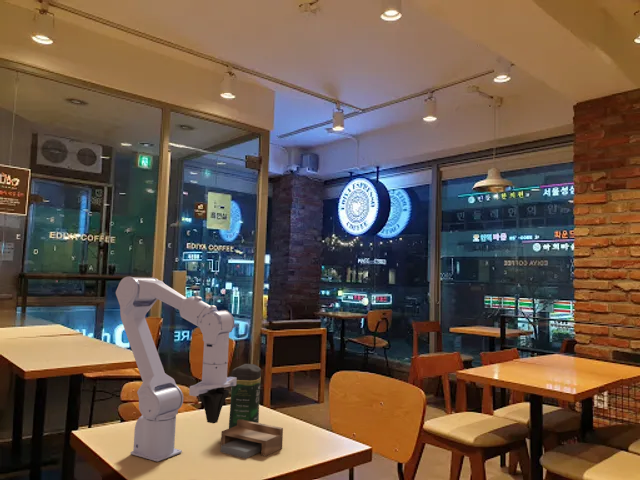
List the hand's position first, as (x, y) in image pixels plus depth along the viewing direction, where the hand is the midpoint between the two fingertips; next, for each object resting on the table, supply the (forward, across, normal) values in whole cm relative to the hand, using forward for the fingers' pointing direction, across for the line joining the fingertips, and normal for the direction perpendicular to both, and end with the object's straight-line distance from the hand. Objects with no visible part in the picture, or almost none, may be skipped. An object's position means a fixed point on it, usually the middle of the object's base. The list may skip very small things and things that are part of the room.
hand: (212, 422), depth 114 cm
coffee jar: (+10, +26, +9) cm, 29 cm away
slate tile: (+10, +12, 0) cm, 16 cm away
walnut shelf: (+10, +15, 0) cm, 18 cm away
